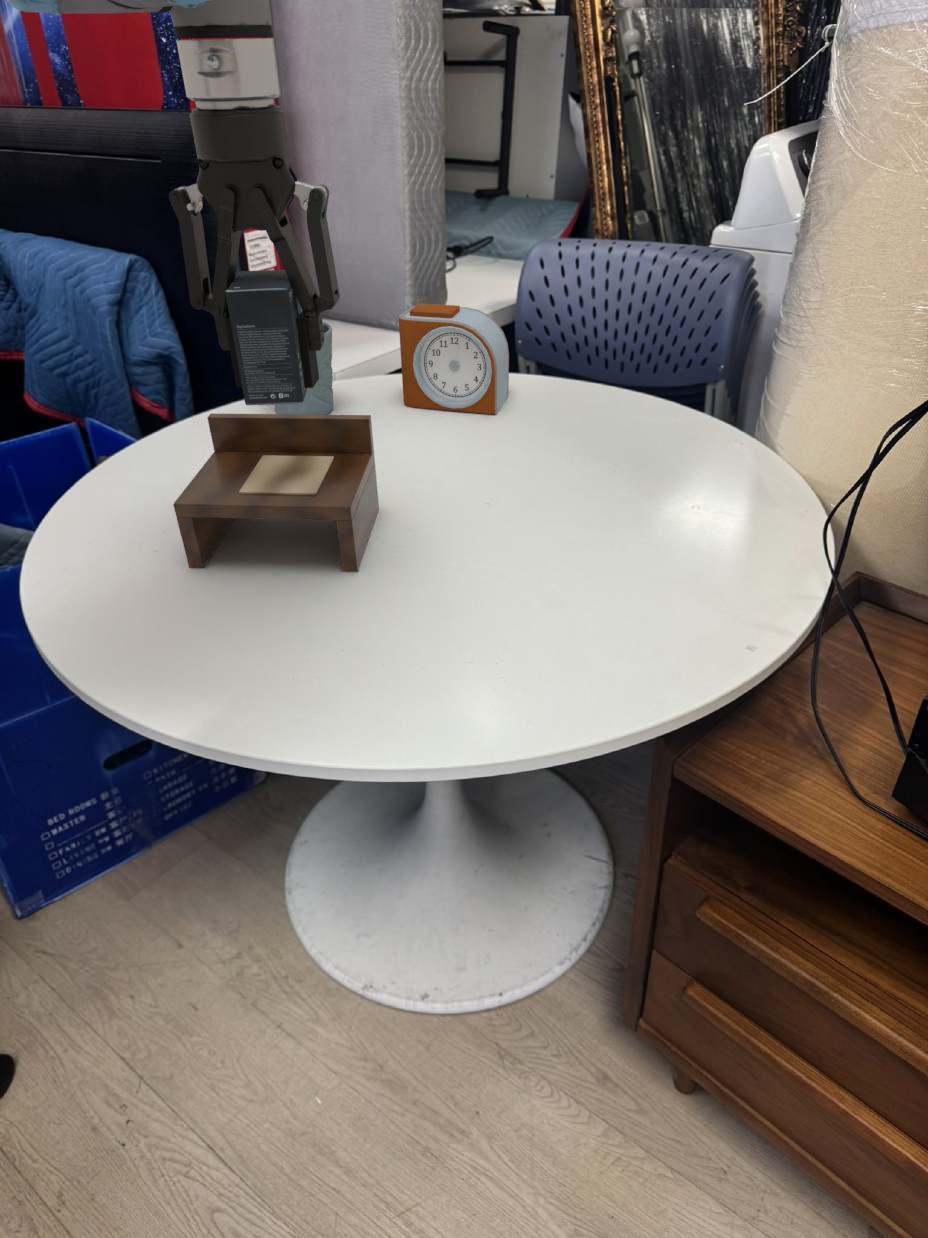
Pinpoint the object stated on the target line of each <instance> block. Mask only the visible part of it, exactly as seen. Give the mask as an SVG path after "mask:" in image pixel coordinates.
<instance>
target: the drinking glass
mask: <svg viewBox="0 0 928 1238" xmlns="http://www.w3.org/2000/svg"><path fill="white" fill-rule="evenodd" d="M322 322H323V331H324V339H325V342H324V345H323V347H322V349H321V350H320V351H316V356H317V364H318V372H319V380H318V381H317V383H316V384H315V386H314V387H313V388H307V391H306V394H305V397H304V401H303V402H302V403H301V404H282V405H273V406H274V411H275V414H306V415H330V413H331V412H333V409H334V390H333V377H334V376H333V367H332V359H333V328H332V325H331V324H329V323H328V322H326V321H323V320H322Z"/></svg>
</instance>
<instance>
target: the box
mask: <svg viewBox="0 0 928 1238" xmlns="http://www.w3.org/2000/svg"><path fill="white" fill-rule="evenodd" d="M226 298H227V304H228V310H229V315H230V321H231V326H232V332H233V338H234V344H235V349H236V355H237V360H238V365H239V372H240V377H241V383H242V387H241V388H242V393H243V398H244V399H243V400H244V404H245V406H247V407H248V406H274V405H282V404H301V403H302V402H303V401H304V397H305V394H306V391H307V388H305V381H304V374H303V367H302V359H301V352H300V345H299V337H298V330H297V322H296V318H297V317H298V316H299V314H300V313H301V312H302V311H303V310H302V308H301V306H300V303H299V301H298V299H297V296H296V294H295V292H294V289H293V287H292V285H291V283H290V280H289V278H288V276H287V273H286V271H285V269H276V270H275V269H272V270H271V269H270V270H269V269H268V270H266V269H265V270H241V271H239V272H238V274H237V276H235V280H234V282H233V283H232V284H231V286H230V287H229V288H228V289H227V290H226Z"/></svg>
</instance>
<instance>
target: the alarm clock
mask: <svg viewBox="0 0 928 1238" xmlns="http://www.w3.org/2000/svg"><path fill="white" fill-rule="evenodd" d="M398 333H399V345H400V346H399V349H400V362H401V363H400V364H401V380H402V396H403V397H402V398H403V404H404V405H405V406H407V407H410V408H416V409H417V408H418V409H428V410H429V409H430V410H440V411H449V412H451V411H452V412H461V413H462V412H463V413H472V414H473V413H474V414H483V415H493V416H494V415H497V414H498V412H499V411H500V409H502V407H503V405H505V402H506V401H507V400H508V398H509V390H510V389H509V388H510V387H509V386H510V385H509V381H510V380H509V379H510V376H509V375H510V351H509V343H508V341H507V337H506V335H505V332H504V330H503V329H502V327H501V326H500V325H499V323H498V322H497V321H496V320H495V319H494V318H493V317H491V316H490V315H489V314H487V313H486V312H484V311H482V310H479V309H476V308H471V307H466V306H465V307H464V306H463V307H462V306H460V305H454V304H453V305H452V304H439V303H438V304H435V303H417V304H416V305H413V306H410V307H408V309H406V310H404V312H402V313H401V314H400V315H399V316H398Z"/></svg>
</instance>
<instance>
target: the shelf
mask: <svg viewBox="0 0 928 1238" xmlns="http://www.w3.org/2000/svg"><path fill="white" fill-rule="evenodd" d="M206 419H207V423H208V427H209V432H210V437H211V441H212V446H213V451H214V452H213V453H212V454H211V455H210V457H209V458H208V459H207V461H205V463H204V464H203V466H202V467H201V468H200V469H199V470H198V472H197V473H196V474H195V476H193V478H192V479H191V481H190V482H189V483H188V484H187V486H186V487H185V488H184V490H183V491H182V492H181V493H180V495H179V496H178V497H177V498H176V500H175V501H174V502H173V509H174V513H175V517H176V521H177V526H178V529H179V532H180V537H181V541H182V545H183V549H184V553H185V557H186V561H187V566H188V568H189V569H193V568H195V569H203V568H205V567H206V565H207V563H208V562H209V560H210V558H211V557H212V555H213V554H214V552H215V550H216V549H217V547H219V544H220V543H221V541H222V539H223V538H224V536H225V535H226V533H227V532H228V530H229V528H230V527H231V525H232V524H233V523H234V521H235V519H252V520H255V519H257V520H258V519H259V520H299V521H300V520H301V521H302V520H305V521H306V520H308V521H310V520H311V521H336V530H337V538H338V545H339V546H338V547H339V553H340V561H341V563H340V564H341V570H342V572H347V573H348V572H349V573H351V572H353V573H358V571H359V568H360V566H361V562H362V560H363V557H364V554H365V551H366V548H367V546H368V542H369V540H370V536H371V533H372V530H373V527H374V524H375V522H376V519H377V515H378V513H379V510H380V503H379V493H378V482H377V470H376V461H375V459H376V458H375V450H374V447H375V446H374V438H373V437H374V436H373V425H372V416H371V415H370V414H327V415H306V414H277V413H210V414H209V415H208V416H207V418H206Z"/></svg>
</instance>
